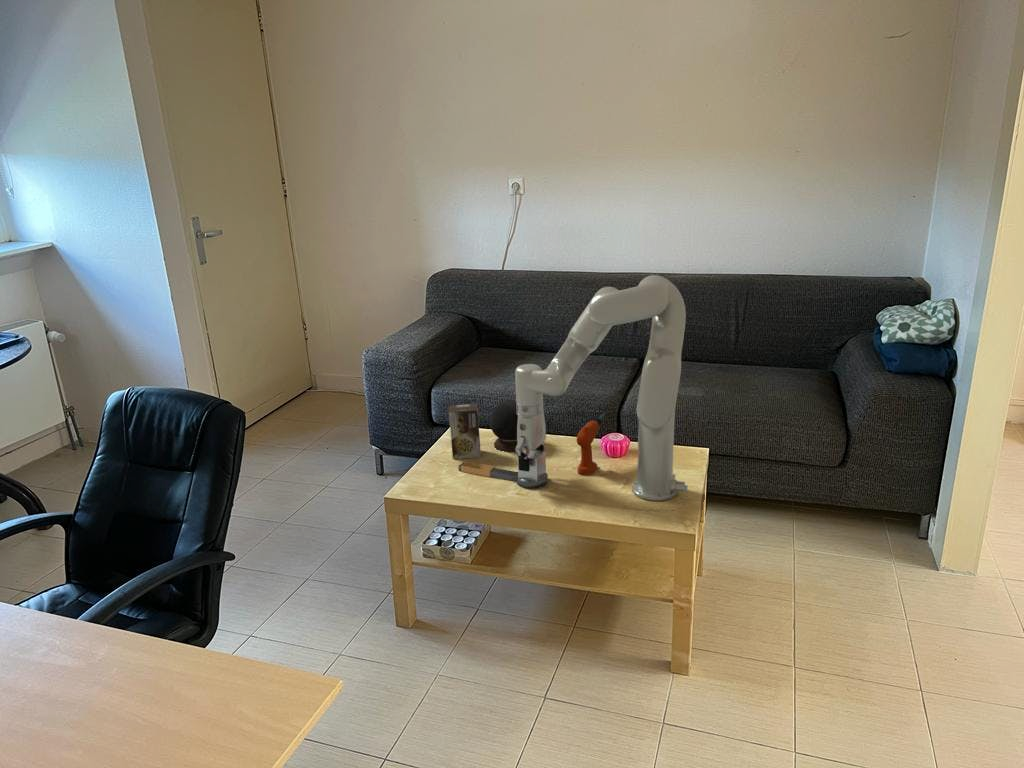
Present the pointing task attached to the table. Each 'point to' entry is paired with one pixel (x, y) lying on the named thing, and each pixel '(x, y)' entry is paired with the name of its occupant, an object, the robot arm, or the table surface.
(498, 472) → the ratchet
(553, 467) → the table surface
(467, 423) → the coffee box
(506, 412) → the black ball on stand
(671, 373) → the robot arm
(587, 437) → the toy drill
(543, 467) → the socket
